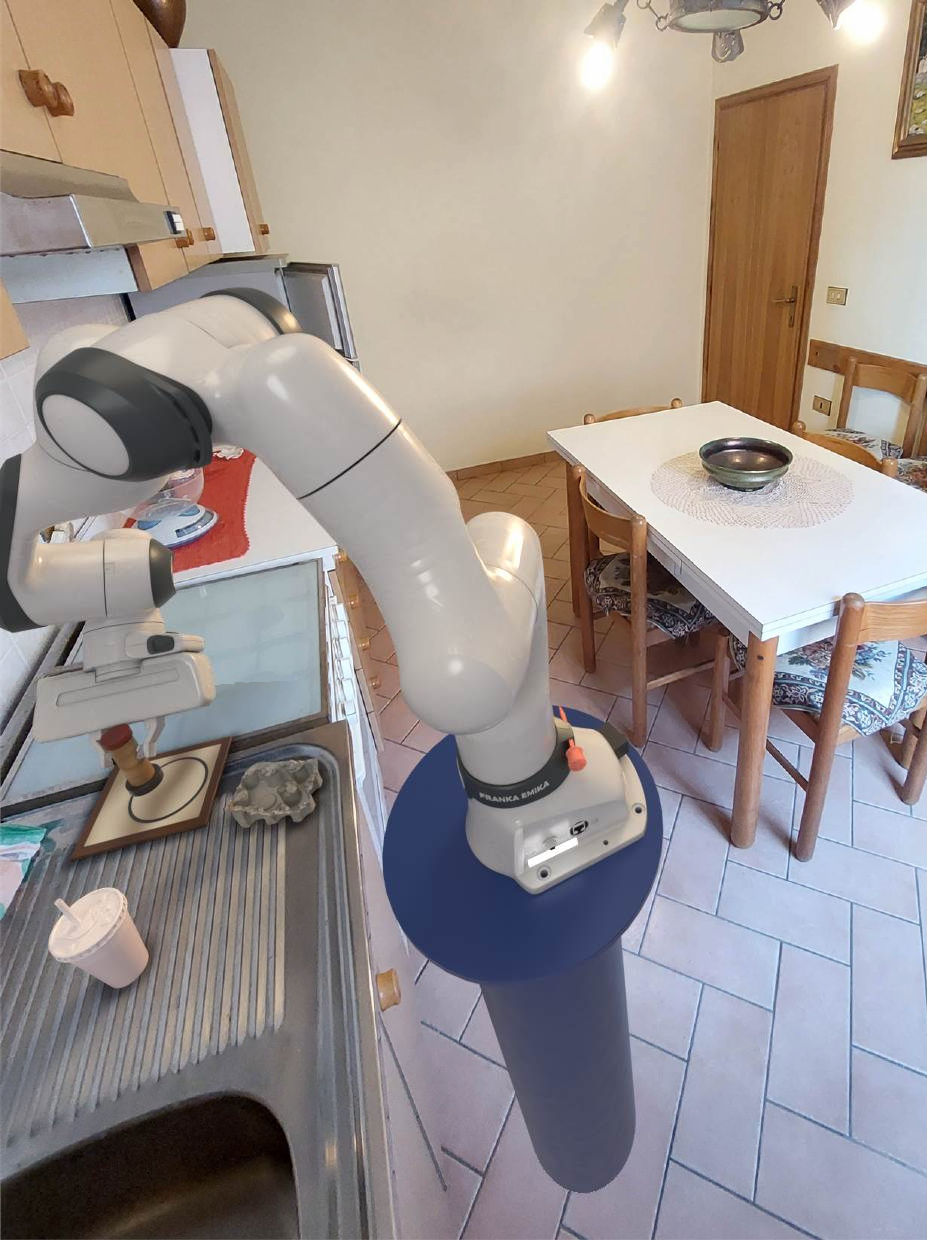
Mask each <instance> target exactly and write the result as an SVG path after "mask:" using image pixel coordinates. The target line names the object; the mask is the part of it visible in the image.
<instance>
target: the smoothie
mask: <svg viewBox="0 0 927 1240" xmlns="http://www.w3.org/2000/svg"><path fill="white" fill-rule="evenodd" d="M53 904H54V905H55V907H56V908H58V909H59V911H61V913H62V914H61V916H60V918H58V920H57V921H56V922H55V924H54V926H53V928H52V930H51V931H50V935H49V938H48V943H47V944H48V951H49V953H50V954H51V955H52V956H53V958H54V959H55V960H56V961H57V962H59V963H63V964H68V963H69V964H71V965H72V966H75V967H77V968H79V969H81V970H82V971H83V972H85V973H87V974H89V975H90V976H92V977H94V978H96V979H97V980H99V981H101V982H102V983H104V984H106V985H108V986H109V987H111V988H113V989H123V988H125V987H128V986H129V985H131V984H132V983H133V982H135V981H136V980H137V979H138V978H139V977H140V976H141V974H142V973H143V972H144V970H145V968H146V967H147V965H148V963H149V952H148V950H147V948H146V945H145V943H144V941H143V939H142V938H141V935H140V932H139V931H138V929H137V927H136V925H135V922H134V921H133V918H132V917H131V914H130V913H129V910H128V900H127V898H126V895H124V894H123V893H122V892H121V891H120V890H119V889H118V888H115V887H102V888H98V889H94V890H93V891H90V892H89V893H87V894H85V895H84V896H82V897H80V898H79V899H77V900H76V901H75V902H74V903H72V905H70V906H69V905H68V904H67V903H66V902H65V901H64V900H63V899H62V898H61V897H59V898H57V899H56V900H55V901H54V902H53Z"/></svg>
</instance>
